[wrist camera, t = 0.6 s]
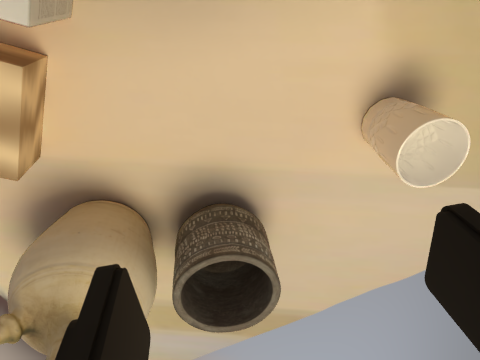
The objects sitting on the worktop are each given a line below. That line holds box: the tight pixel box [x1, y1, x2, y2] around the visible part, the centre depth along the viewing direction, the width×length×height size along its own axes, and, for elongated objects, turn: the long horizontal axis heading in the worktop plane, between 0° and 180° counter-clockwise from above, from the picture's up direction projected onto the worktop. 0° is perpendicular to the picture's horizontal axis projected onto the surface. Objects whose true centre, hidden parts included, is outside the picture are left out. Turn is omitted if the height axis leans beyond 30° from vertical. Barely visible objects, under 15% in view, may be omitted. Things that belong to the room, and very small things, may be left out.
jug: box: [0, 200, 157, 360], centre depth 37 cm, size 15×16×25 cm
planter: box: [172, 204, 281, 332], centre depth 43 cm, size 12×12×13 cm
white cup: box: [361, 97, 470, 188], centre depth 40 cm, size 8×8×10 cm
